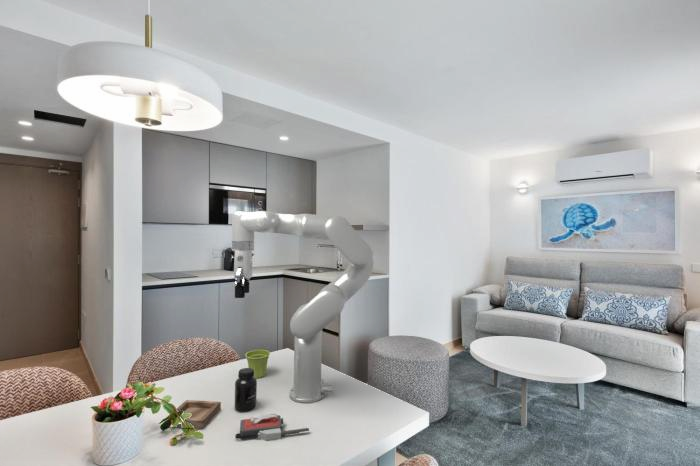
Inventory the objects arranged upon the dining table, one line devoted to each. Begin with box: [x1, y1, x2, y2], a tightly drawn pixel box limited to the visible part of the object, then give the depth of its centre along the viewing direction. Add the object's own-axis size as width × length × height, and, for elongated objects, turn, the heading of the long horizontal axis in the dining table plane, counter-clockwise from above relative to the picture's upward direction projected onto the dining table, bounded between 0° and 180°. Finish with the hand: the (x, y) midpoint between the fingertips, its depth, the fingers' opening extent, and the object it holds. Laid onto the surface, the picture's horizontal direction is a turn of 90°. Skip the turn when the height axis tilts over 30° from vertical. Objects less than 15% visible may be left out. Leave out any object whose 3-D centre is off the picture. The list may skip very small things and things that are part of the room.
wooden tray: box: [164, 399, 222, 431], centre depth 107 cm, size 11×11×2 cm
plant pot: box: [244, 349, 271, 379], centre depth 139 cm, size 9×9×9 cm
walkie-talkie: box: [235, 413, 310, 442], centre depth 101 cm, size 9×4×20 cm
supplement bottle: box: [234, 367, 258, 413], centre depth 114 cm, size 7×7×12 cm
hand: (242, 295), depth 124 cm, fingers open, 9 cm apart
